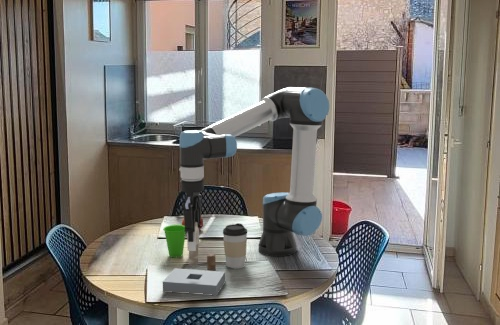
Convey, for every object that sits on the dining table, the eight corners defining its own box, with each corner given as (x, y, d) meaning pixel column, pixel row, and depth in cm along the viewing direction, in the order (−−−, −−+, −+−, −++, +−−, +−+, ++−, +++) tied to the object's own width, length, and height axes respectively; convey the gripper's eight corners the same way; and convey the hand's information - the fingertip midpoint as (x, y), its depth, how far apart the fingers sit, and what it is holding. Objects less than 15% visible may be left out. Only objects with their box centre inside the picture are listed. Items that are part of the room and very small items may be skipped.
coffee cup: (238, 271, 195) (238, 230, 192) (218, 266, 200) (217, 227, 197) (252, 263, 203) (252, 224, 200) (232, 259, 207) (231, 221, 205)
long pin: (199, 262, 181) (198, 221, 179) (196, 265, 178) (195, 224, 176) (190, 261, 182) (189, 221, 179) (187, 264, 179) (187, 223, 176)
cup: (183, 260, 206) (182, 232, 204) (160, 258, 208) (159, 230, 206) (190, 252, 215) (190, 225, 213) (168, 250, 217) (168, 224, 215)
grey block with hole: (225, 281, 186) (225, 271, 185) (216, 295, 174) (216, 285, 173) (174, 277, 189) (174, 268, 188) (162, 291, 177) (162, 281, 177)
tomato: (179, 233, 239) (179, 215, 238) (185, 227, 248) (185, 210, 247) (200, 234, 238) (199, 216, 236) (205, 228, 247) (204, 211, 245)
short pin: (216, 270, 196) (216, 254, 195) (214, 273, 193) (214, 257, 192) (208, 269, 196) (208, 253, 195) (206, 272, 194) (205, 256, 192)
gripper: (188, 173, 184) (189, 240, 188) (172, 183, 168) (174, 256, 172) (209, 174, 182) (210, 241, 186) (196, 184, 167) (197, 257, 171)
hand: (193, 248), depth 179 cm, fingers closed on long pin, 3 cm apart
